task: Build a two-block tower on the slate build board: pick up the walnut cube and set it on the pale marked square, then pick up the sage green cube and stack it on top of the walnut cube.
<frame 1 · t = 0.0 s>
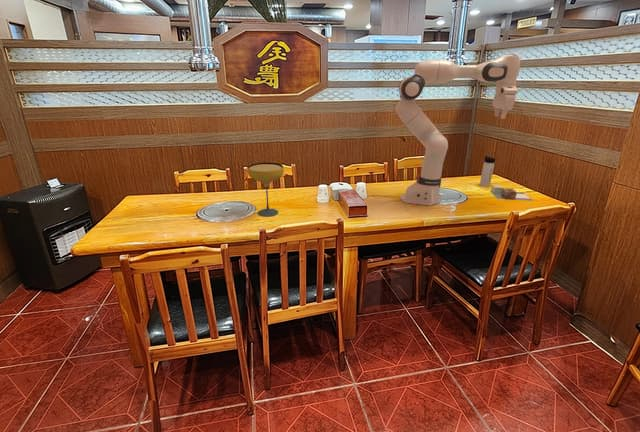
hand: (499, 117, 180), 48 cm above the table, tool pointing down, fingers open, 8 cm apart
build board: (510, 197, 209), on the table
walnut block: (508, 197, 205), point 1 cm above the table, touching build board
sage block: (496, 192, 214), point 1 cm above the table, touching build board
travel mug: (484, 187, 228), on the table
cocktail glass: (268, 213, 183), on the table
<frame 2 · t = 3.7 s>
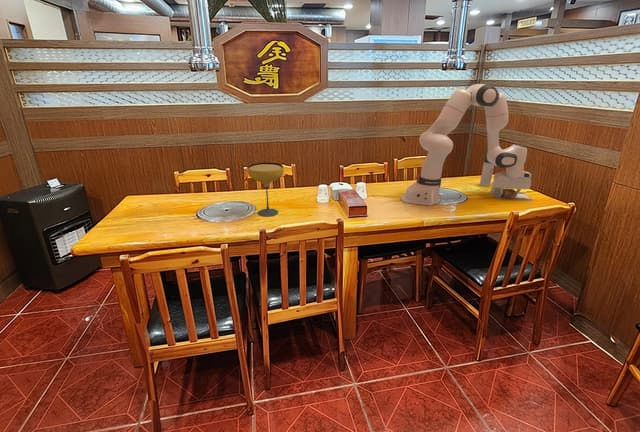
hand: (508, 195, 205), 2 cm above the table, tool pointing down, fingers closed on walnut block, 6 cm apart
walnut block: (508, 197, 205), point 1 cm above the table, touching build board, gripper
everything else where it was.
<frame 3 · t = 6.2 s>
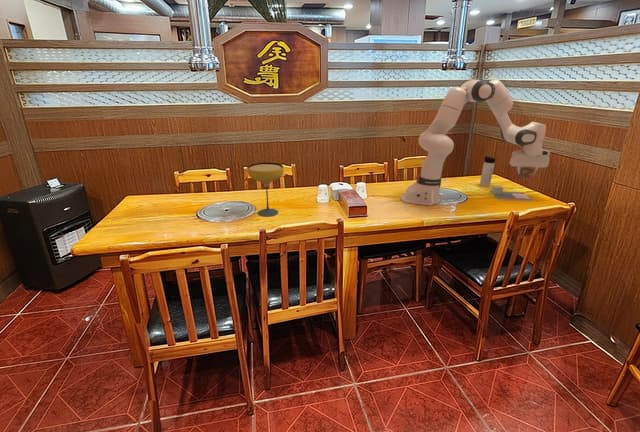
hand: (526, 174, 203), 15 cm above the table, tool pointing down, fingers closed on walnut block, 6 cm apart
walnut block: (525, 176, 203), point 13 cm above the table, touching gripper
everything else where it was.
when the fingers open (4 cm above the table, at t = 8.7 s): walnut block stays where it is, resting on build board.
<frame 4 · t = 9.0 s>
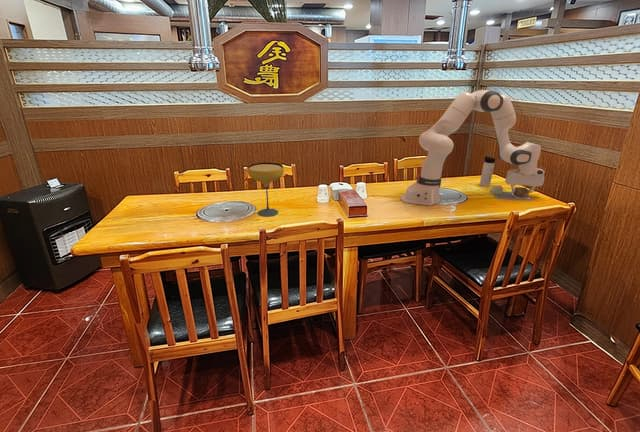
hand: (521, 192, 207), 4 cm above the table, tool pointing down, fingers open, 8 cm apart
walnut block: (520, 196, 208), point 1 cm above the table, touching build board
everything else where it was.
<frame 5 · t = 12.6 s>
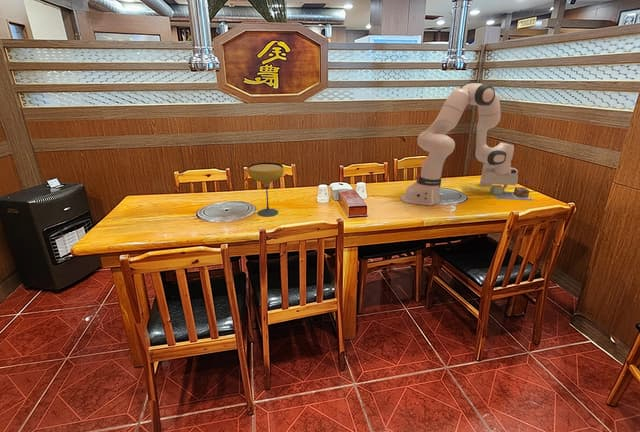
hand: (496, 190, 213), 2 cm above the table, tool pointing down, fingers closed on sage block, 5 cm apart
sage block: (496, 192, 214), point 1 cm above the table, touching build board, gripper
everything else where it was.
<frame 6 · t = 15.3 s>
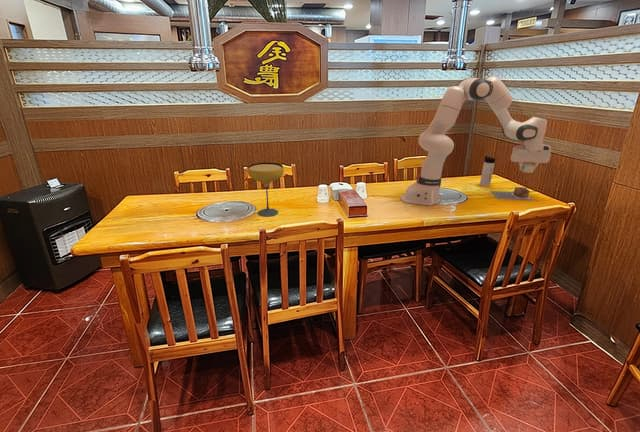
hand: (527, 169, 202), 17 cm above the table, tool pointing down, fingers closed on sage block, 5 cm apart
sage block: (526, 171, 202), point 16 cm above the table, touching gripper
everything else where it was.
when the fingers open (8 cm above the table, at t = 18.0 s): sage block stays where it is, resting on walnut block.
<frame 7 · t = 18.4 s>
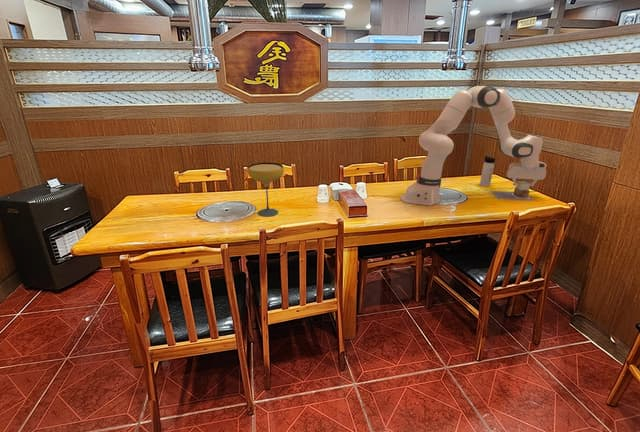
hand: (523, 185, 205), 8 cm above the table, tool pointing down, fingers open, 8 cm apart
walnut block: (520, 196, 208), point 1 cm above the table, touching build board, sage block
sage block: (522, 188, 206), point 6 cm above the table, touching walnut block
everything else where it was.
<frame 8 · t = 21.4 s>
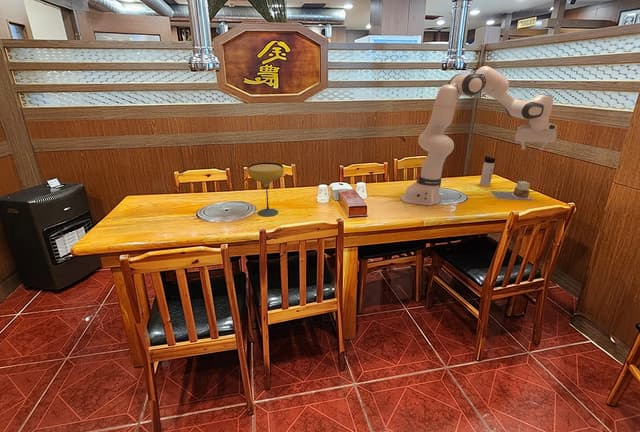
hand: (532, 149, 197), 29 cm above the table, tool pointing down, fingers open, 8 cm apart
nothing on the table moved.
at the end: walnut block 0.1 cm from the target spot on the build board, point 1.0 cm above the build board's base; sage block 0.1 cm off-centre on the walnut block, point 4.5 cm above the walnut block's base; sage block tilted 0° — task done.
